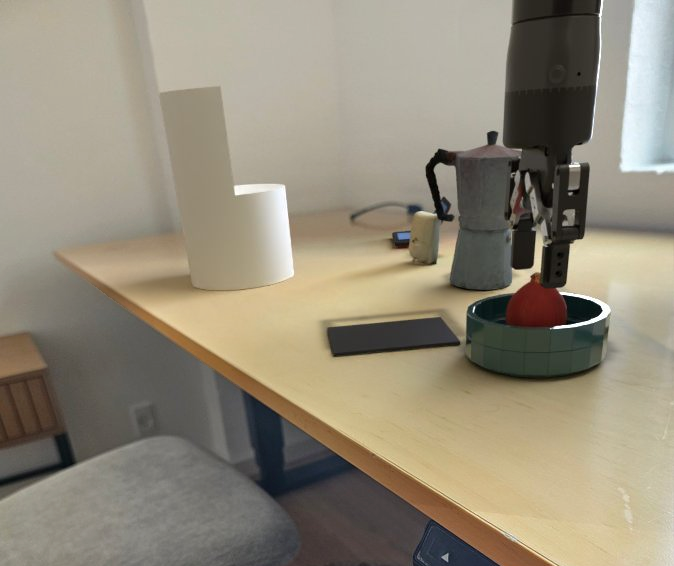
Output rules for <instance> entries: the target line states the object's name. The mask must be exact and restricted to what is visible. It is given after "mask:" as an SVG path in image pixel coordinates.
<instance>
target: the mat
mask: <svg viewBox="0 0 674 566" xmlns="http://www.w3.org/2000/svg"><path fill="white" fill-rule="evenodd" d="M326 330H327V334H328V340H329V343H330V348H331V352H332V357H334V358H335V357H344V356H346V357H347V356H356V355H365V354H367V355H368V354H376V353H387V352H399V351H406V350H407V351H408V350H417V349H429V348H439V347H440V348H441V347H451V346H459V345H461V340H460V339H459V338H458V336H457V335H456V334H455V333H454V331H453V330H452V329H451V327H450V326H449V325H448V324H447V323H446V321H445V320H444V319H443V318H442V316H435V317H434V316H433V317H425V318H412V319H402V320H392V321H390V320H389V321H380V322H371V323H359V324H349V325H338V326H330V327H326Z"/></svg>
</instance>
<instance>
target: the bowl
mask: <svg viewBox="0 0 674 566" xmlns="http://www.w3.org/2000/svg"><path fill="white" fill-rule="evenodd" d="M515 293H516V292H510V293H502V294H497V295H490V296H486V297H484V298H481V299H478V300H476V301H474V302H472V303H471V304H470V305H468V306H467V309H466V316H465V320H466V321H465V355H466V357H467V358H468V359H469V360H470V361H471V362H472V363H474V364H475V365H478V366H480V367H482V368H484V369H485V370H488V371H491V372H494V373H497V374H500V375H505V376H511V377H518V378H530V379H534V378H536V379H543V378H544V379H545V378H557V377H565V376H570V375H574V374H578V373H580V372H583V371H585V370H589V369H590V368H593V367H594V366H596V365H598V364H600V363H602V361H603V360H604V358H605V357H606V355H607V347H608V338H609V330H610V321H611V313H612V311H611V308H610V306H609V305H608V304H606V303H604V302H603V301H601V300H599V299H596V298H593V297H590V296H586V295H581V294H574V293H568V292H560V293H561V295H562V296H563V298H564V300H565V303H566V307H567V320H566V324H565V326H556V327H521V326H510V325H506V311H507V307H508V304H509V301H510V300H511V298H512V296H513V295H514V294H515Z"/></svg>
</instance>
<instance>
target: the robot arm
mask: <svg viewBox="0 0 674 566" xmlns="http://www.w3.org/2000/svg"><path fill="white" fill-rule="evenodd" d="M603 2H604V0H512V2H511V20H510V21H511V22H510V24H511V26H510V33H509V40H508V45H507V52H506V61H505V77H504V79H505V80H504V100H503V101H504V103H503V123H502V125H503V126H502V145H503V147H506V148H510V149H514V150H521V151H522V152H521V156H517V157H509V159H508V162H507V181H506V195H505V210H504V218H505V221H509V220H510V221H509V226H510V228H509V229H510V231H511V262H510V265H511V267H512V270H515V271H519V270H520V271H521V270H531V269H532V268H533V267H534V265H535V254H536V239H537V230H536V229H535V228H536V227H538V225H539V226H540V232H541V238H542V244H543V245H542V246H541V247H542V249H541V260H540V272H539V273H540V285H541V286H542V287H544V288H545V289H551V288H556V289H561V288H564V287H565V286H566V285H567V281H568V272H569V261H570V250H571V245H573V244H574V243H575V241H576V240H577V241H578V240H583V239H584V238H585V234H586V222H587V211H588V210H587V209H588V198H589V197H588V195H589V186H590V185H589V183H590V172H591V167H590V163H589V162H588V161H586V162H585V161H584V162H573V148H574V147H575V146H583V145H587V144H588V143H589V142H590V141H591V140H592V139H593V132H594V131H593V130H594V123H595V113H596V101H597V93H598V83H599V74H600V64H601V51H602V33H601V31H602V30H601V29H602V28H601V26H602V25H601V23H602V17H601V16H602V12H603ZM573 217H574V218H573Z"/></svg>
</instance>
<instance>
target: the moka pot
mask: <svg viewBox="0 0 674 566" xmlns="http://www.w3.org/2000/svg"><path fill="white" fill-rule="evenodd" d="M499 134H500V132H498V131H496V130H489V131H488V132H486V140H487V144H485V145H482V146H478V147H474V148H472V149H467V150H447V149H443V148H438V149H437V151H436V152H434V155H433V156H432V157H431V158H430V159H429V161H428V162H427V163H426V165H425V178H426V182H427V185H428V188H429V191H430V194H431V198H432V201H433V206H434V210H436V213H437V217H438V219H439V220H443V222H450V223H452V222H453V221H454V220H455V217H456V216H455V215H454V214H453V213H448V214H446V213H445V212H444V209H443V206H442V204H441V202H440V201H441V199H442V197H441V194H440V193H441V192H440V190H439V185H438V180H437V176H436V173H435V168H436V166H437V165H439V164H442V165H444V166H448V167H454V168H455V178H456V179H455V181H456V182H455V183H456V199H457V211H458V214H459V215H458V226H459V229H458V233H457V237H456V242H455V248H454V253H453V258H452V264H451V268H450V273H449V279H448V280H449V282H450V284H451V285H453V286H455V287H457V288H462V289H467V290H479V291H491V290H500V289H504V288H507V287H509V286H511V284H513V283H512V282H513V268H512V267H511V265H510V262H511V244H512V230H511V229H510V226H509V221H510V220H509V221H505V218H504V210H505V195H506V181H507V162H508V159H509V157H517V156H521V152H522V150H519V149H510V148H506V147H505V146H504V145H503V146H502V145H500V144H497V141H498V137H499Z"/></svg>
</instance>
